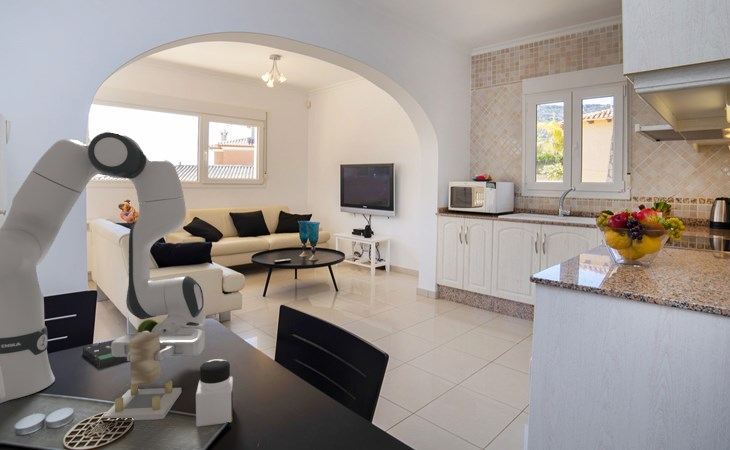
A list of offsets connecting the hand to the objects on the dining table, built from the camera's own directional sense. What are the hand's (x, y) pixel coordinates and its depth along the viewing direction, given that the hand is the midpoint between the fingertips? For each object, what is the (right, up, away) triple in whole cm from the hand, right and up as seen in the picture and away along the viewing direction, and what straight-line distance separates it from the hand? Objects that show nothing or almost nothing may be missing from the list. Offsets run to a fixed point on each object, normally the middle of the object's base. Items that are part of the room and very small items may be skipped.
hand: (143, 357), depth 92 cm
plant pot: (-15, -5, +43) cm, 46 cm away
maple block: (0, -5, +1) cm, 6 cm away
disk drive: (-26, -10, +30) cm, 41 cm away
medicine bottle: (+17, -12, -2) cm, 21 cm away
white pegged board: (0, -11, +2) cm, 12 cm away
